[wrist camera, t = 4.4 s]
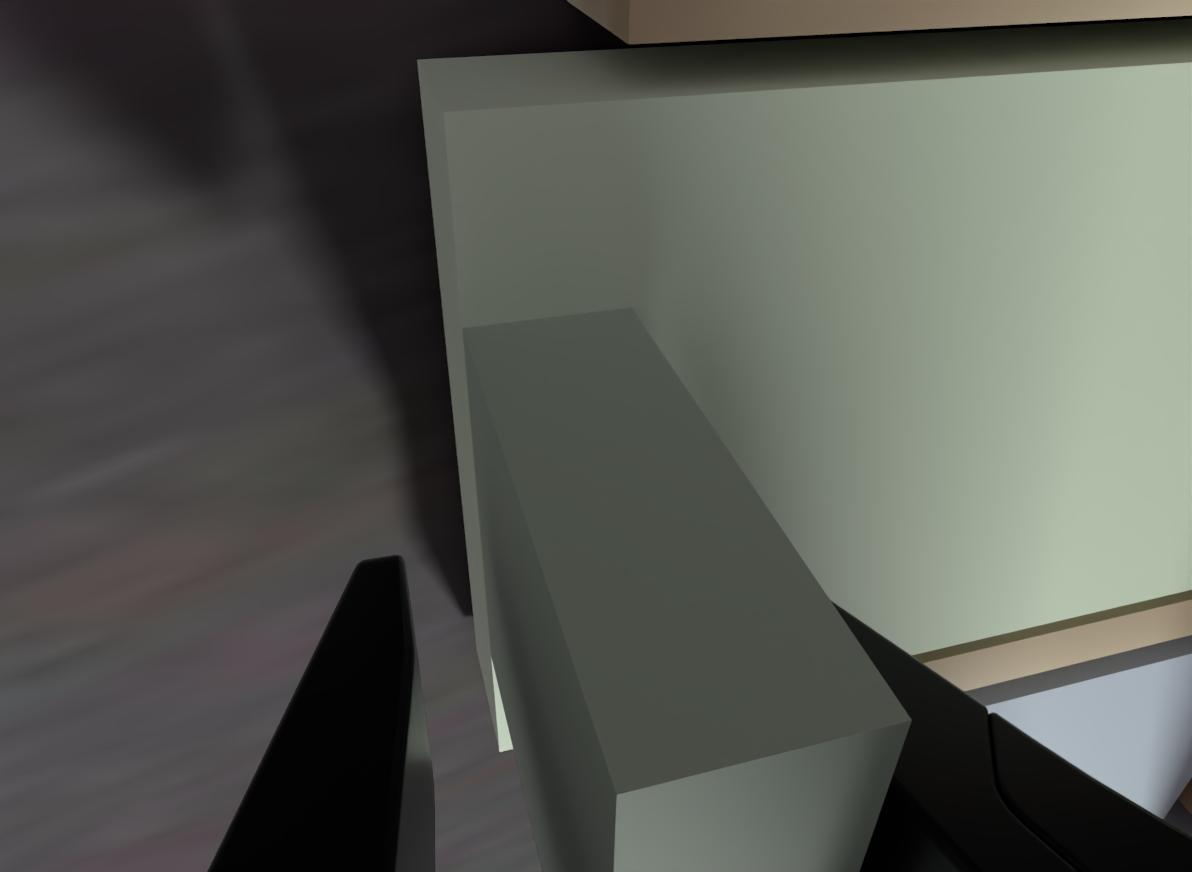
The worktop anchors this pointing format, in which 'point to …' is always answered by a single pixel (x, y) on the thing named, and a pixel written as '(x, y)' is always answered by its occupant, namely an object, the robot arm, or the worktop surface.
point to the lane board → (892, 3)
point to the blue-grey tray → (1114, 721)
